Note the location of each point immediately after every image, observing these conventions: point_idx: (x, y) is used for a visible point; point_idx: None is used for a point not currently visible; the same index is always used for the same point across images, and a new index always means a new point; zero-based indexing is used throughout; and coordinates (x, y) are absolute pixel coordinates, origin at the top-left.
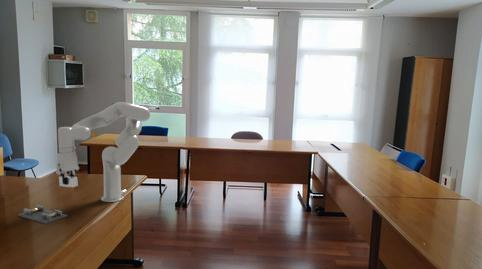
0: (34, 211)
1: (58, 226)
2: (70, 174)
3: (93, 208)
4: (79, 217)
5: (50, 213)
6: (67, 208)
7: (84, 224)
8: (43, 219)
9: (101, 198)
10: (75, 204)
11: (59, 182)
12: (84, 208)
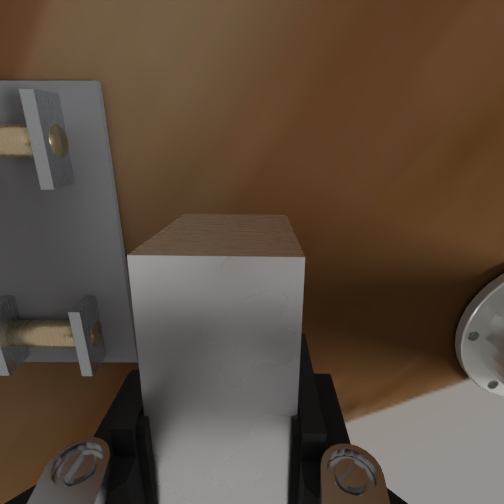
0: (1, 157)
1: (36, 423)
2: (302, 488)
3: (317, 365)
4: None
5: (84, 260)
6: None
7: None
8: None
9: (489, 297)
10: (325, 208)
11: (169, 227)
12: None
